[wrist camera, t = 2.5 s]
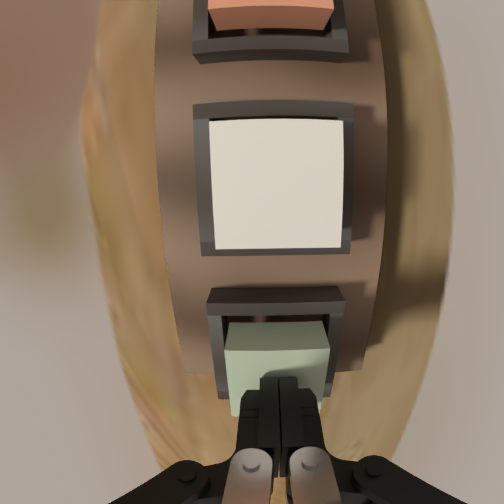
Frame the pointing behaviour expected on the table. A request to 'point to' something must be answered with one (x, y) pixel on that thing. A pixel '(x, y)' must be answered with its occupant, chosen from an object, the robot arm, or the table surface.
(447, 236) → the table surface
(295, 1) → the terracotta button
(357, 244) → the button board
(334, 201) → the offwhite button
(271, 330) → the sage button
